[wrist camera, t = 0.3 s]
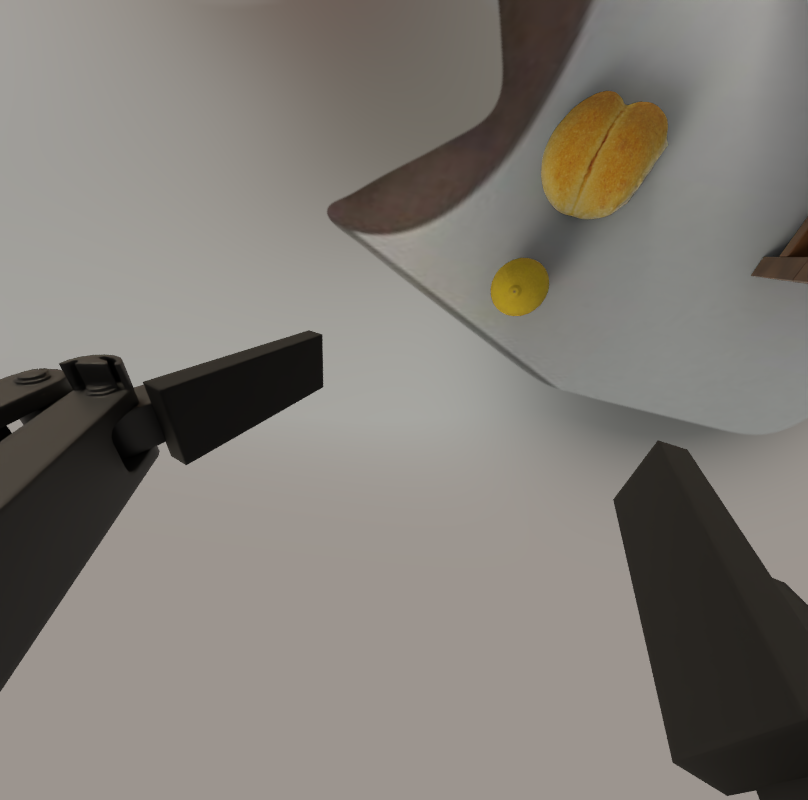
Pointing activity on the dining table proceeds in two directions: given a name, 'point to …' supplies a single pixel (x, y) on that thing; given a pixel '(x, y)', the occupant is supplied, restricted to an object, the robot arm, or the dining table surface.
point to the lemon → (519, 286)
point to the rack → (788, 260)
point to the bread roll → (602, 155)
